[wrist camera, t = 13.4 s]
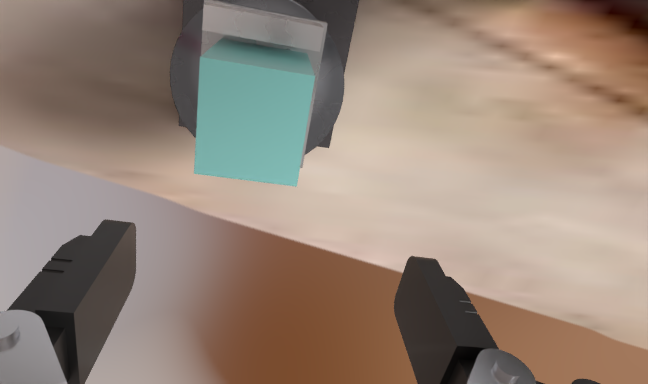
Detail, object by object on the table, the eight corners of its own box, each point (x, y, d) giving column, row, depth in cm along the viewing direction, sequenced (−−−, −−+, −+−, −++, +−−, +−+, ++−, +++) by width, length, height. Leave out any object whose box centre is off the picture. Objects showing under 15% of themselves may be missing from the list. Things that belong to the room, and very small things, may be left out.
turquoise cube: (221, 38, 24) (200, 56, 18) (307, 53, 25) (315, 76, 18) (215, 129, 26) (194, 173, 20) (293, 140, 27) (296, 186, 21)
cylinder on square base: (189, -47, 33) (115, -73, 19) (358, -12, 35) (411, -9, 21) (182, 121, 39) (122, 201, 24) (327, 142, 41) (351, 228, 27)
